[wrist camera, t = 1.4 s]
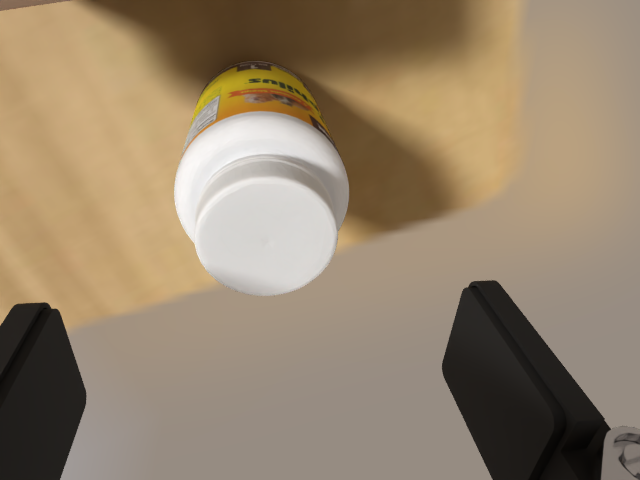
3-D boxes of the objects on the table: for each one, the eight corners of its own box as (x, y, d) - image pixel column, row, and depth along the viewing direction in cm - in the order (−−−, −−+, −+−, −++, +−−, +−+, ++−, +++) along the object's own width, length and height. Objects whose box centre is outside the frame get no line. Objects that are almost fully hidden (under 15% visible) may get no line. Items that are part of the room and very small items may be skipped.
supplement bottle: (341, 111, 21) (408, 226, 13) (268, 195, 23) (283, 344, 15) (244, 26, 19) (247, 100, 10) (170, 128, 20) (120, 262, 12)
